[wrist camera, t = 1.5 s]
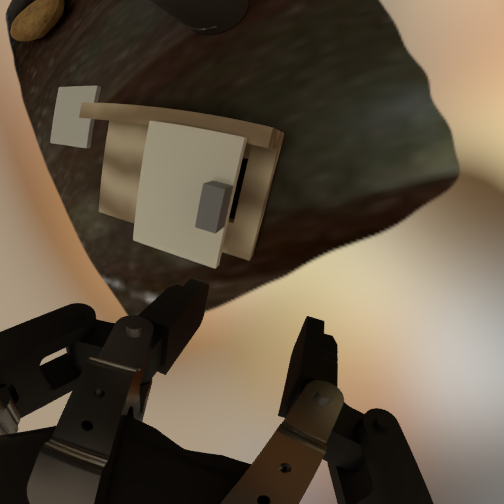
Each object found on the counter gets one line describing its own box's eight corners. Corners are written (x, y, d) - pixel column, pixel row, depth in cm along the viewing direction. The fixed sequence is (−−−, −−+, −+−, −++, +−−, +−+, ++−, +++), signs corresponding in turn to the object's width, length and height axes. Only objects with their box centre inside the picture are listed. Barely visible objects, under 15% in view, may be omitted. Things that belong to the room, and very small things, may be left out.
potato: (71, 29, 33) (40, 21, 25) (30, 52, 35) (1, 49, 28) (81, -11, 29) (53, -22, 22) (38, 14, 32) (12, 9, 25)
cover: (154, 121, 27) (135, 119, 24) (247, 137, 26) (237, 136, 22) (137, 237, 32) (120, 246, 29) (218, 264, 30) (206, 278, 27)
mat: (63, 87, 37) (59, 87, 36) (101, 86, 35) (97, 85, 34) (54, 142, 40) (50, 142, 39) (90, 147, 39) (86, 148, 38)
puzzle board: (121, 106, 36) (81, 102, 28) (284, 132, 33) (273, 127, 25) (106, 208, 42) (69, 222, 34) (253, 255, 39) (235, 282, 31)
